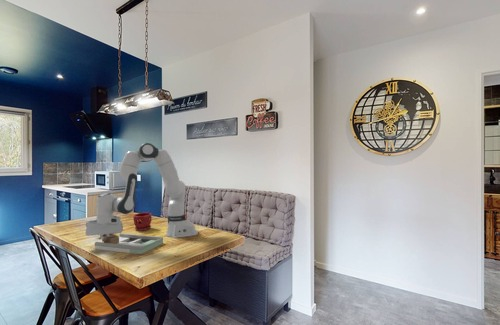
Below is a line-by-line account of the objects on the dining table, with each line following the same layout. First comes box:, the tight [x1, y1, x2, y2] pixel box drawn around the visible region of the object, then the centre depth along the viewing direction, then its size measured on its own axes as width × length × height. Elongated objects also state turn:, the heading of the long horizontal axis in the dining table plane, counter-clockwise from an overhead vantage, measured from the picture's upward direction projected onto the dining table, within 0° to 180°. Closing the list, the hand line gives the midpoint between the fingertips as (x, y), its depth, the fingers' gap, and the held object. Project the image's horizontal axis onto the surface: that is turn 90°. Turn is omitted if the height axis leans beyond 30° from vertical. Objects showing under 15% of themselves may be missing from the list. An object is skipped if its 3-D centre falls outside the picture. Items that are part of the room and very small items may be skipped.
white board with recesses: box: [94, 232, 164, 254], centre depth 155 cm, size 34×20×4 cm, turn 73°
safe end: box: [129, 238, 164, 255], centre depth 151 cm, size 8×20×4 cm, turn 163°
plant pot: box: [133, 212, 152, 231], centre depth 195 cm, size 13×13×12 cm
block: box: [103, 235, 120, 244], centre depth 153 cm, size 6×6×4 cm
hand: (104, 241), depth 155 cm, fingers closed
